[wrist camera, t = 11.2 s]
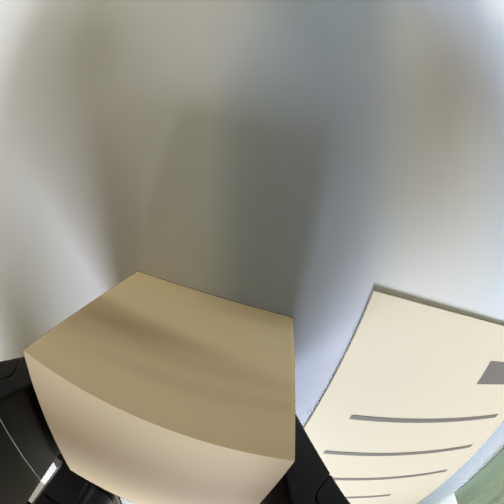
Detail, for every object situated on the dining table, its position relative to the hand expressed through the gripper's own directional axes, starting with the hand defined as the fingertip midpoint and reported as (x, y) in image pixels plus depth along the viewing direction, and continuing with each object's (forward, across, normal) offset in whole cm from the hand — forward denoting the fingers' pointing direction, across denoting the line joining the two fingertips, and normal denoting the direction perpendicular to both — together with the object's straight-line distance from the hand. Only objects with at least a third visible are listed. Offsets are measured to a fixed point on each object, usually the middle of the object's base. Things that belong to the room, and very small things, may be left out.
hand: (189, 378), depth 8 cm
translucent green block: (+1, -25, +8) cm, 27 cm away
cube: (+1, 0, 0) cm, 1 cm away
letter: (+1, -11, +5) cm, 12 cm away
